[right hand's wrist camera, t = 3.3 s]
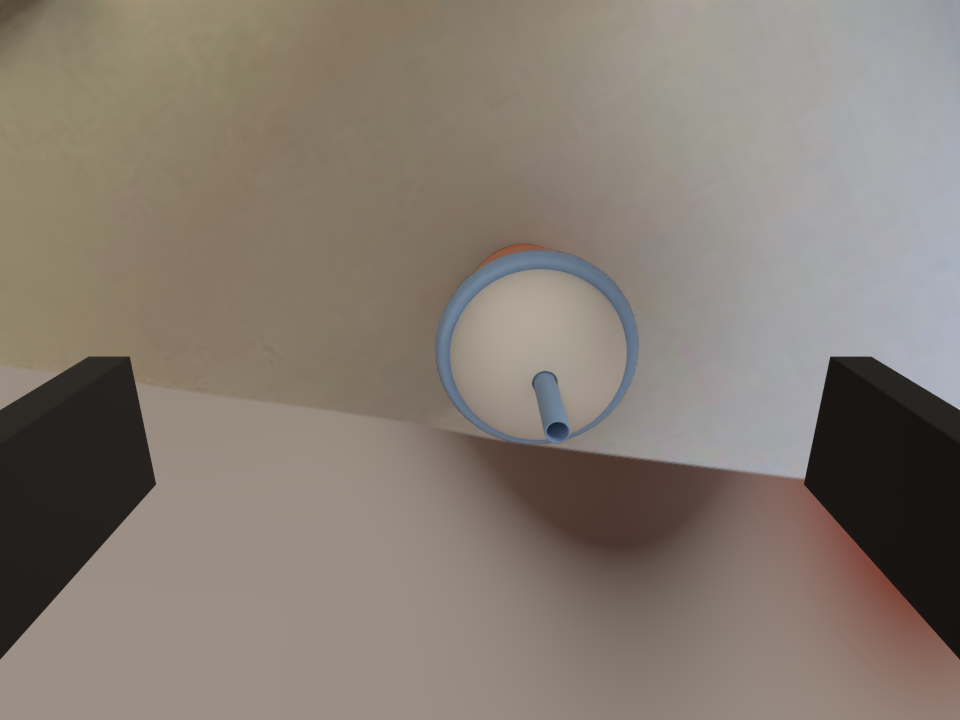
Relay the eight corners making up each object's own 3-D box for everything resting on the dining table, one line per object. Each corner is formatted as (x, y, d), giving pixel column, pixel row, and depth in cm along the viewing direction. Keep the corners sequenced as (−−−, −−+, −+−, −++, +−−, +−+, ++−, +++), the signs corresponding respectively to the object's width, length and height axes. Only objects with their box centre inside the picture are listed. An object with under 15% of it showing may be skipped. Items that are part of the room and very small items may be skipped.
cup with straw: (462, 377, 40) (451, 564, 23) (431, 234, 37) (392, 328, 20) (606, 351, 39) (704, 523, 22) (587, 203, 36) (684, 274, 19)
